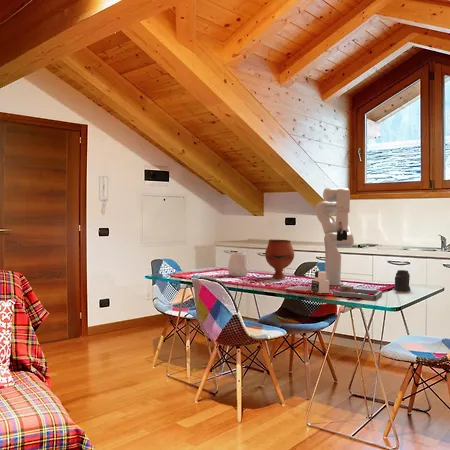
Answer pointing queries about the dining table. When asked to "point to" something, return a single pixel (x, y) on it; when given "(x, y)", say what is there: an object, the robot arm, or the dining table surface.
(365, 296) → the tray
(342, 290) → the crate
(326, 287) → the medicine bottle
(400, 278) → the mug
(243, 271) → the vase
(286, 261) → the goblet
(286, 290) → the dining table surface
